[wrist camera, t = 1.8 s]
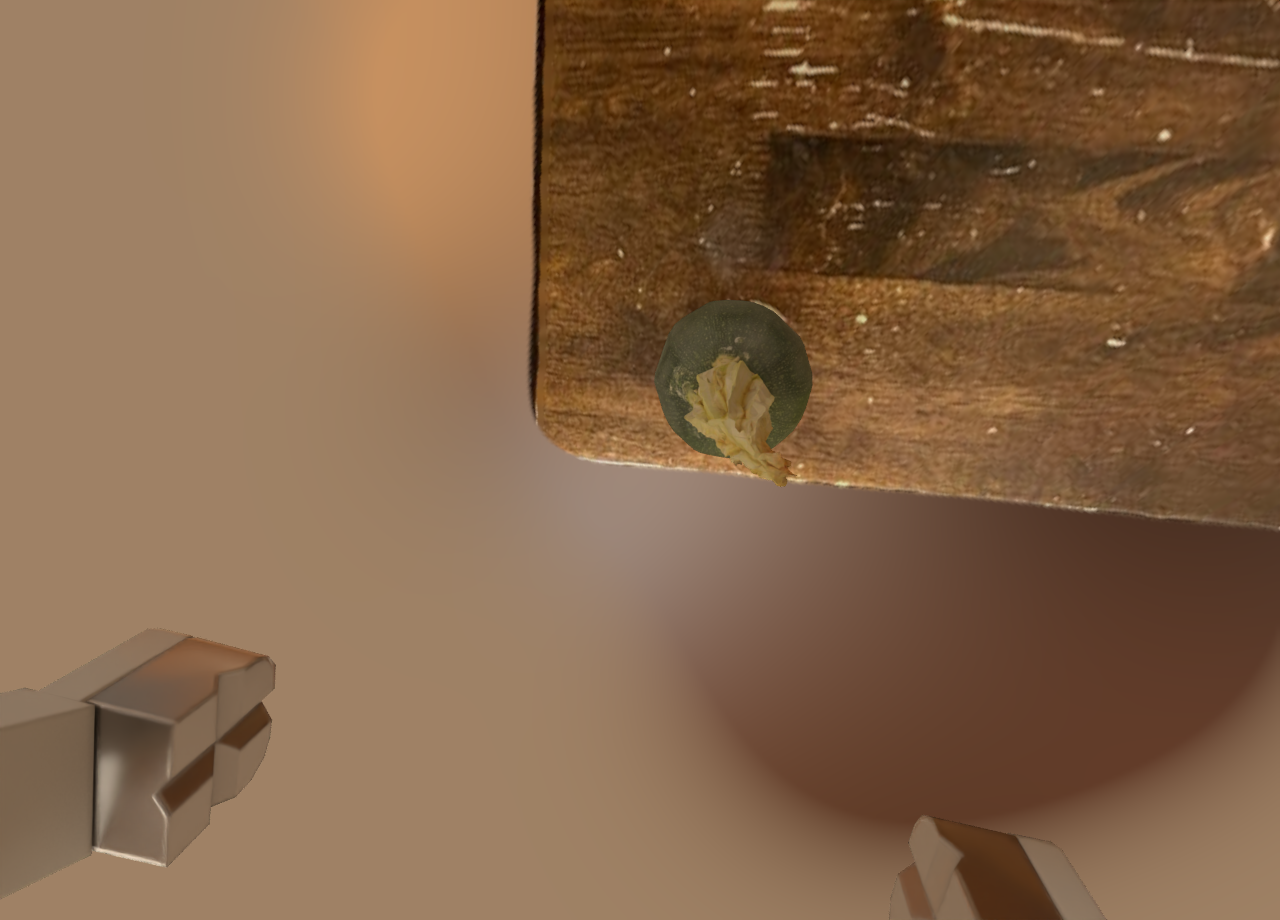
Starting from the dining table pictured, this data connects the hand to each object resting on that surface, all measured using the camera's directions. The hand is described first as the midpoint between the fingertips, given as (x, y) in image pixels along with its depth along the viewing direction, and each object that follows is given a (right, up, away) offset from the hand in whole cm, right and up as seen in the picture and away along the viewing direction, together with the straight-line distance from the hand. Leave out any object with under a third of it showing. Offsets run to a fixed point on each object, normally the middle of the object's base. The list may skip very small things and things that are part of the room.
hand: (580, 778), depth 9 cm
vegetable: (+5, +9, +25) cm, 27 cm away
